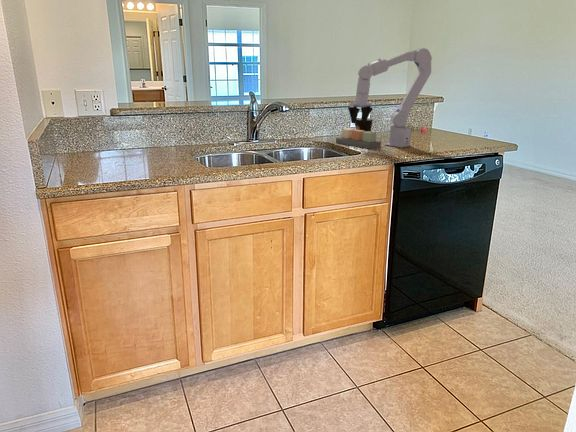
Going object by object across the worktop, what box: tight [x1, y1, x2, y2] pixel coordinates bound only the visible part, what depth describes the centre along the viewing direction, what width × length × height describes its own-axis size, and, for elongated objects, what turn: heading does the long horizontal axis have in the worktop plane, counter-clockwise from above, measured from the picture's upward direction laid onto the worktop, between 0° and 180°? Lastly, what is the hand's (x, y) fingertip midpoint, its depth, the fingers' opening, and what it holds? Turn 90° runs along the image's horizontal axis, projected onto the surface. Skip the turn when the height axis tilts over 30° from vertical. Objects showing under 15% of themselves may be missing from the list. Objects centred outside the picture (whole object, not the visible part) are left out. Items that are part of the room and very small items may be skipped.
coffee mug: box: [354, 117, 374, 132], centre depth 226 cm, size 12×9×10 cm
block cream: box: [340, 127, 356, 139], centre depth 214 cm, size 4×4×4 cm
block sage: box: [362, 131, 377, 142], centre depth 205 cm, size 4×4×4 cm
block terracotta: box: [352, 129, 365, 140], centre depth 209 cm, size 4×4×4 cm
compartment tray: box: [335, 136, 382, 150], centre depth 211 cm, size 20×9×2 cm, turn 42°
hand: (358, 122), depth 208 cm, fingers open, 7 cm apart
